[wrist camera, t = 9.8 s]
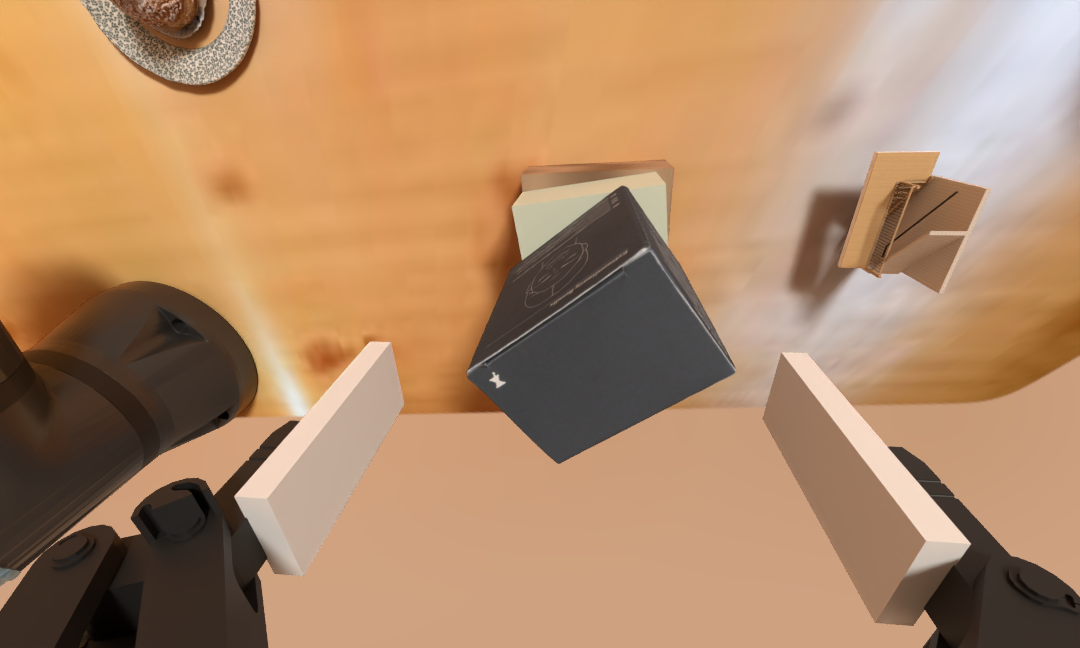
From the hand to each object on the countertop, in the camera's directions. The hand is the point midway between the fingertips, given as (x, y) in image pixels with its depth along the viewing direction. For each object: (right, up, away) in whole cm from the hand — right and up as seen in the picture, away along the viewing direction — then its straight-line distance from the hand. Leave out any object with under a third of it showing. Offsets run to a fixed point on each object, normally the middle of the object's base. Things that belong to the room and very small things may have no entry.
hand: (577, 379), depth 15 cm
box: (+2, +5, +9) cm, 11 cm away
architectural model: (+20, +10, +14) cm, 26 cm away
